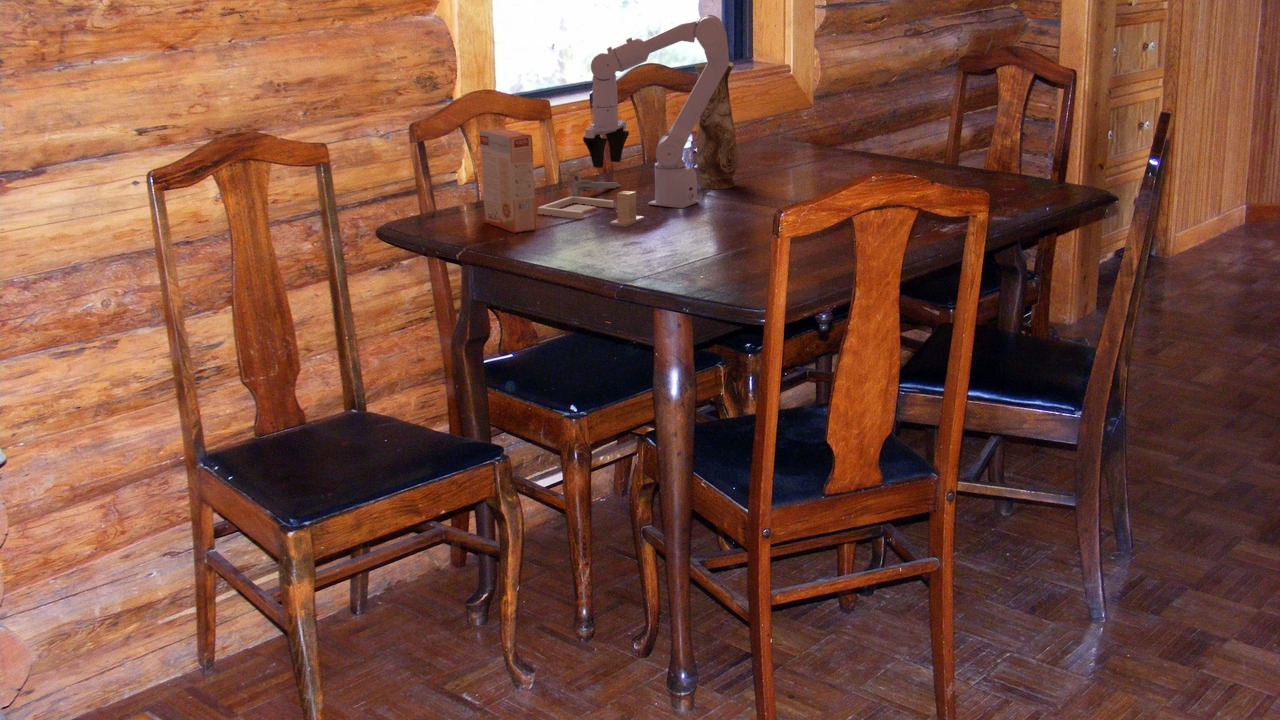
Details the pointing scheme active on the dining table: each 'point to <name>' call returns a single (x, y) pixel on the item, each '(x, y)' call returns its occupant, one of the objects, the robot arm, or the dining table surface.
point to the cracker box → (508, 179)
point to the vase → (717, 138)
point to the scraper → (626, 209)
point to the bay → (553, 207)
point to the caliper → (589, 185)
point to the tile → (581, 208)
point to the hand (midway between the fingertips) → (607, 164)
